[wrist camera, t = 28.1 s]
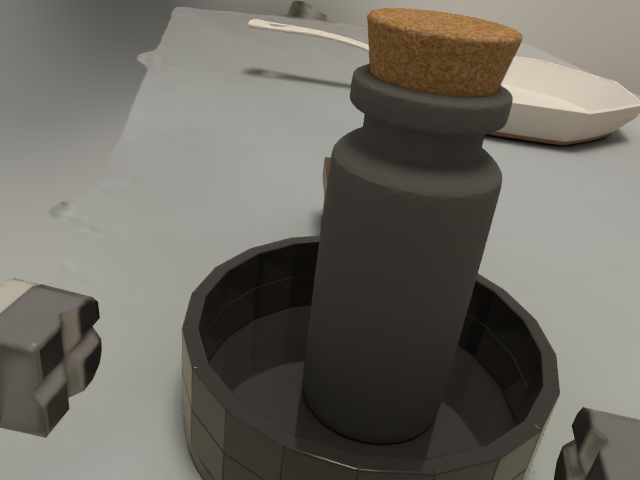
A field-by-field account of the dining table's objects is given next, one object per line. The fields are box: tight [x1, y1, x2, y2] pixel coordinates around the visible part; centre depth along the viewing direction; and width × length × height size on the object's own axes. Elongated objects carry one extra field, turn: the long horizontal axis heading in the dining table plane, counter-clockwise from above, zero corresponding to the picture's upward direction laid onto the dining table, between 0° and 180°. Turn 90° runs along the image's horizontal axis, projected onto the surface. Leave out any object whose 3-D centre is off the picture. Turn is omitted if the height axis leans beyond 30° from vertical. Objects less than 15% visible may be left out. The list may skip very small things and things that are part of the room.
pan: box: [248, 19, 640, 145], centre depth 70 cm, size 25×44×6 cm, turn 81°
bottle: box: [302, 8, 522, 444], centre depth 22 cm, size 6×6×15 cm
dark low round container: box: [182, 236, 560, 480], centre depth 25 cm, size 14×14×4 cm
